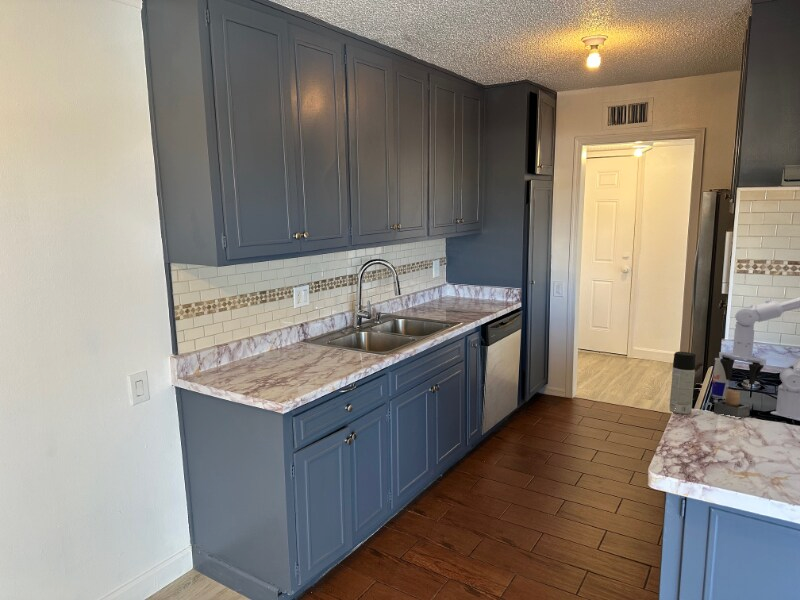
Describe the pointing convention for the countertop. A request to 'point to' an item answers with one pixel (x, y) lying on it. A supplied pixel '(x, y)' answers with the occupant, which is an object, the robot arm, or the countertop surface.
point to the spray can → (682, 382)
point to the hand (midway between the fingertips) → (739, 381)
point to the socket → (731, 409)
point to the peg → (732, 398)
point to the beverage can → (719, 381)
